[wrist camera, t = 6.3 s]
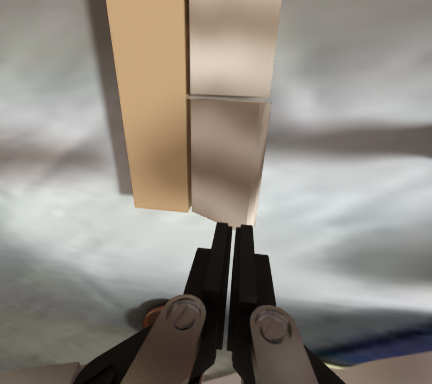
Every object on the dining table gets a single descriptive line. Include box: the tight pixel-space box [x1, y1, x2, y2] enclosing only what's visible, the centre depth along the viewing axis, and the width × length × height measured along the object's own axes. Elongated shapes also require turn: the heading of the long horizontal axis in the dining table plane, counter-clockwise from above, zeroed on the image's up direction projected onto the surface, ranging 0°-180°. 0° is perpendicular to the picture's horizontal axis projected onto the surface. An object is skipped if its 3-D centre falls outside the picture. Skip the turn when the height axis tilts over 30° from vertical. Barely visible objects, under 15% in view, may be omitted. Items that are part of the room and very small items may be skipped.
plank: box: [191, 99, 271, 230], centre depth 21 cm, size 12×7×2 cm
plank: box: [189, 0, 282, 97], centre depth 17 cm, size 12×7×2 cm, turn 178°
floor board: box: [106, 0, 267, 213], centre depth 21 cm, size 25×14×4 cm, turn 178°
